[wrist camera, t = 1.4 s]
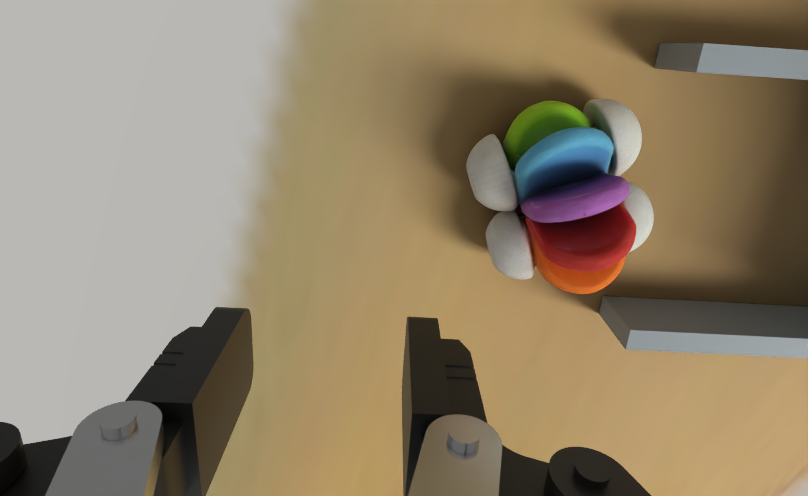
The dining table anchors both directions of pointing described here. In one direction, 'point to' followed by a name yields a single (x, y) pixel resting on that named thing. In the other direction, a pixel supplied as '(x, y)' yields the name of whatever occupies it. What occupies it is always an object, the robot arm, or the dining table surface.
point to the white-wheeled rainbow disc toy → (563, 193)
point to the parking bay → (705, 320)
